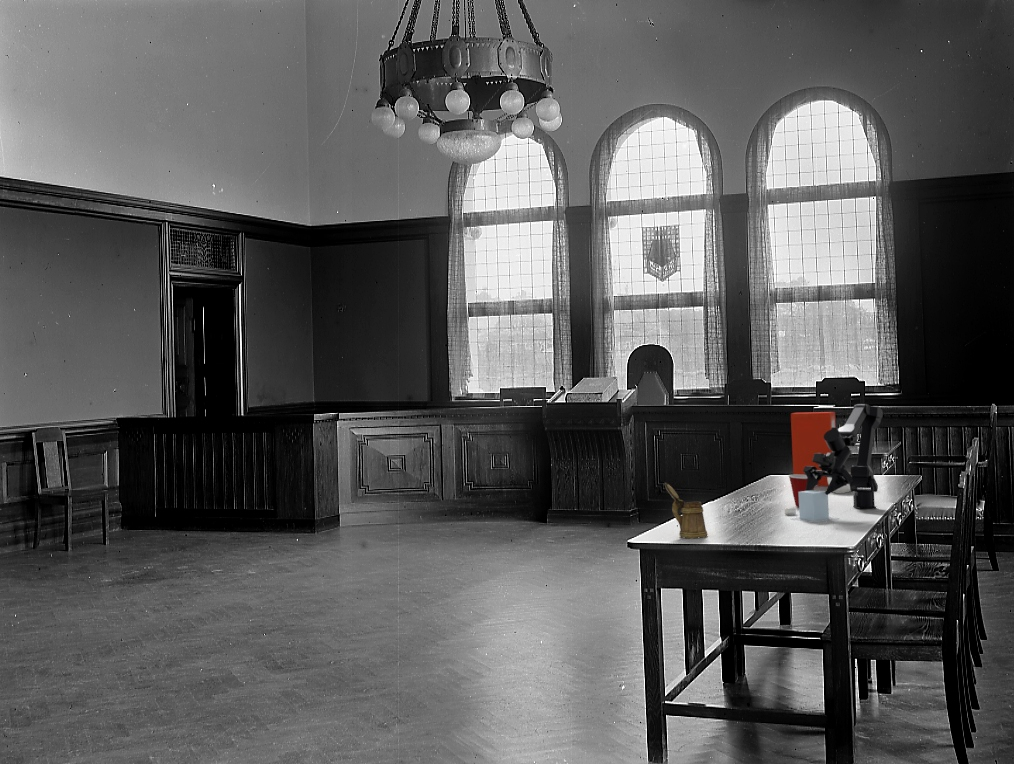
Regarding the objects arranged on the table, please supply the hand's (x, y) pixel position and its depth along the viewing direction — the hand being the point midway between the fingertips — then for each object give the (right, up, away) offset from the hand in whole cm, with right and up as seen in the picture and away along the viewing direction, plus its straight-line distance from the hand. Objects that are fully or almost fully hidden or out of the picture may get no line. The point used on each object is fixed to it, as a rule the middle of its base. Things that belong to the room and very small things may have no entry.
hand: (816, 493), depth 383 cm
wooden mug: (-49, -12, -22) cm, 55 cm away
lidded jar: (+30, -7, +69) cm, 76 cm away
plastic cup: (+5, -9, +34) cm, 36 cm away
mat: (-1, -9, -1) cm, 9 cm away
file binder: (+28, -7, +97) cm, 101 cm away
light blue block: (-1, -9, -1) cm, 9 cm away
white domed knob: (-6, -9, +12) cm, 17 cm away
